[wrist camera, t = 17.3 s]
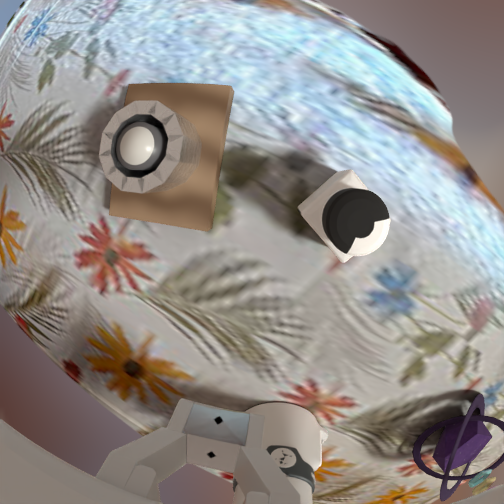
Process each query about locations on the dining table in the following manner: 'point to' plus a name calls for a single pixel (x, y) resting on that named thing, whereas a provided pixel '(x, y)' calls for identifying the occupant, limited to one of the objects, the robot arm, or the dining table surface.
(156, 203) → the mounting block
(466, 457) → the decorative bottle
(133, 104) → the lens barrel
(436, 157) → the dining table surface
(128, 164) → the gray white-topped cylinder
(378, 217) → the medicine bottle
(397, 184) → the dining table surface
